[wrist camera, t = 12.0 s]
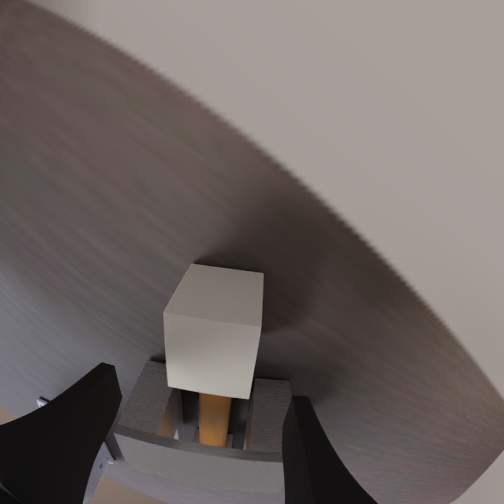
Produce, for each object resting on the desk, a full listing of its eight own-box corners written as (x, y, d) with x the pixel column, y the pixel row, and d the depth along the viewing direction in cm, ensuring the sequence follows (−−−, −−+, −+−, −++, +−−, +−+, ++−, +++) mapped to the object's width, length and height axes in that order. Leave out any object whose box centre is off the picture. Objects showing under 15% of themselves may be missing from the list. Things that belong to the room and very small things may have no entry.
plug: (234, 455, 24) (229, 499, 19) (192, 449, 24) (182, 492, 19) (263, 273, 16) (261, 326, 12) (190, 263, 16) (163, 312, 12)
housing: (272, 437, 22) (271, 504, 16) (156, 420, 22) (135, 482, 16) (290, 381, 19) (294, 463, 13) (147, 359, 19) (113, 432, 13)
